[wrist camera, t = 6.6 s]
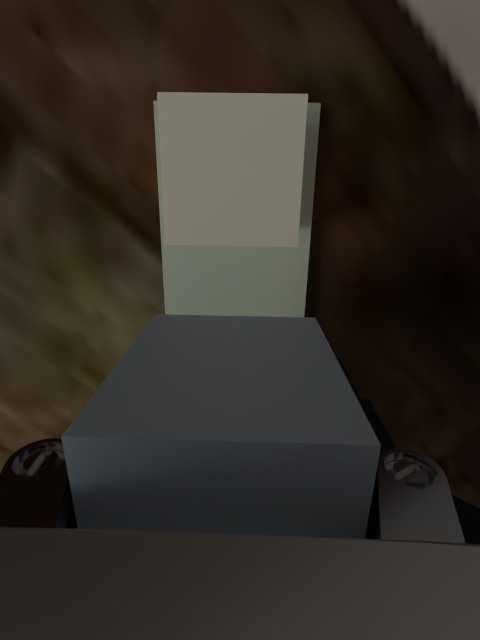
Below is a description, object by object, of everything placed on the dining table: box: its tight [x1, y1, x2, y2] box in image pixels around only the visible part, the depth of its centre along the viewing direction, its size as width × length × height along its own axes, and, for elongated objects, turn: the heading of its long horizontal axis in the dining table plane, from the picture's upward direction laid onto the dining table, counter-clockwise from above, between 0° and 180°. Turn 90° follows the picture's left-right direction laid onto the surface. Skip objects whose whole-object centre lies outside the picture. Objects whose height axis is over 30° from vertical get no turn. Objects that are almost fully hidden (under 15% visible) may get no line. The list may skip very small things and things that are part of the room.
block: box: [61, 314, 381, 539], centre depth 9 cm, size 5×5×6 cm
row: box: [154, 92, 321, 317], centre depth 18 cm, size 21×8×7 cm, turn 179°
